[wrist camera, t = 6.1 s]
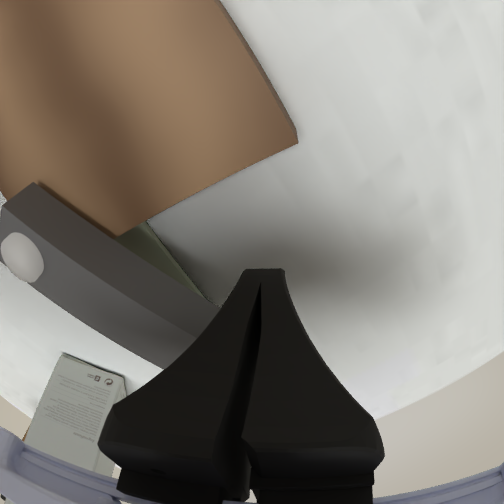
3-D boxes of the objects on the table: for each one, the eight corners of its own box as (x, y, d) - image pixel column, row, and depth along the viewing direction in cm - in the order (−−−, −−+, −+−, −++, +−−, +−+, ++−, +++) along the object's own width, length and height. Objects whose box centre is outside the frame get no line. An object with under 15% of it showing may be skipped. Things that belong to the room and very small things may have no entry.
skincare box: (61, 350, 21) (-8, 509, 9) (129, 376, 22) (73, 553, 10) (78, 396, 26) (32, 521, 14) (133, 417, 26) (96, 550, 14)
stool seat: (177, 361, 20) (170, 386, 18) (-33, 83, 10) (-60, 92, 8) (373, 305, 15) (381, 334, 14) (141, -100, 5) (120, -117, 4)
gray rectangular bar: (21, 232, 12) (-10, 263, 10) (33, 181, 10) (-5, 211, 8) (224, 361, 15) (216, 403, 13) (263, 332, 14) (259, 379, 12)
